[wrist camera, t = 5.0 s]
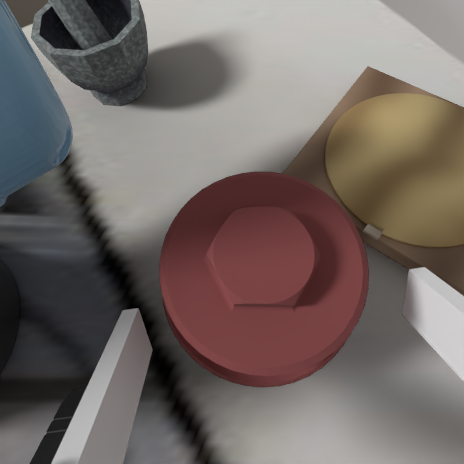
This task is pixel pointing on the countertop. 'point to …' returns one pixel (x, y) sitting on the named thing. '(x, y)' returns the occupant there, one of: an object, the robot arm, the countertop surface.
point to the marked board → (395, 171)
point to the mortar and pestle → (96, 45)
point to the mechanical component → (263, 278)
